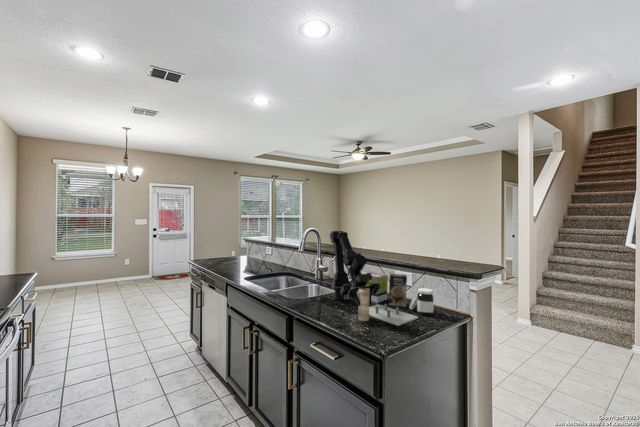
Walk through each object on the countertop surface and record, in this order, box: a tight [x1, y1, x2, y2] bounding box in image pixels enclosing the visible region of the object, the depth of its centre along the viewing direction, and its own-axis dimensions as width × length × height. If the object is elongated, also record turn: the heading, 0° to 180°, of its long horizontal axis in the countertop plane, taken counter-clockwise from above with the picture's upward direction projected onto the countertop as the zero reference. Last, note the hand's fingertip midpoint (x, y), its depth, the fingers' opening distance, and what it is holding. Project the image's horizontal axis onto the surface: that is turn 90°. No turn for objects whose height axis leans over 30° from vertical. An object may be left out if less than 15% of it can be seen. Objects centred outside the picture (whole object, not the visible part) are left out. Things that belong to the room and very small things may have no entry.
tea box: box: [357, 270, 388, 304], centre depth 178 cm, size 15×10×15 cm
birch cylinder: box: [357, 288, 370, 322], centre depth 143 cm, size 5×5×14 cm
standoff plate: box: [369, 303, 419, 327], centre depth 150 cm, size 24×16×4 cm, turn 40°
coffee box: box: [388, 273, 408, 308], centre depth 167 cm, size 9×6×16 cm
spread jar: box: [408, 287, 435, 316], centre depth 155 cm, size 12×11×12 cm
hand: (365, 305), depth 141 cm, fingers closed on birch cylinder, 5 cm apart
